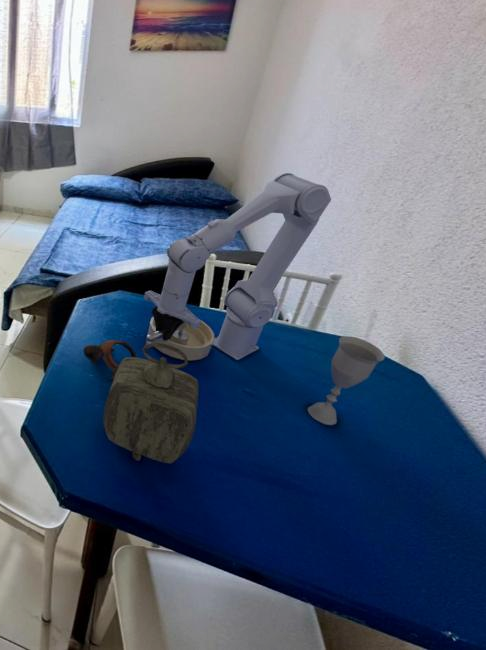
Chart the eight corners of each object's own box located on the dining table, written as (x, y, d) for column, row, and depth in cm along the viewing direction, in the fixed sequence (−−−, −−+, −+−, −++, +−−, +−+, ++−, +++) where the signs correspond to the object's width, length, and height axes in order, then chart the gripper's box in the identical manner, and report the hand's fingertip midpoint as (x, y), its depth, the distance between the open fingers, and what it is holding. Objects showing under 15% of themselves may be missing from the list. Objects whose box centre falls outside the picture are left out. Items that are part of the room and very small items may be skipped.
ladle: (176, 332, 108) (182, 315, 105) (190, 342, 104) (196, 324, 102) (136, 350, 101) (141, 331, 98) (150, 360, 98) (155, 341, 95)
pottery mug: (120, 352, 102) (138, 339, 95) (123, 389, 96) (142, 378, 90) (76, 342, 100) (91, 328, 93) (76, 379, 95) (92, 367, 88)
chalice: (349, 432, 82) (393, 364, 73) (312, 426, 83) (351, 358, 74) (331, 404, 88) (370, 339, 79) (296, 399, 89) (331, 333, 80)
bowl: (172, 319, 115) (176, 305, 112) (222, 350, 103) (227, 336, 101) (134, 334, 108) (138, 321, 106) (182, 370, 96) (187, 355, 94)
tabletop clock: (180, 447, 77) (218, 344, 65) (175, 487, 70) (216, 380, 58) (105, 418, 83) (127, 319, 71) (93, 453, 76) (115, 348, 64)
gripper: (140, 279, 97) (129, 325, 104) (192, 310, 86) (176, 359, 93) (160, 273, 100) (148, 317, 107) (212, 301, 90) (196, 349, 96)
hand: (163, 336), depth 100 cm, fingers closed on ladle, 2 cm apart
